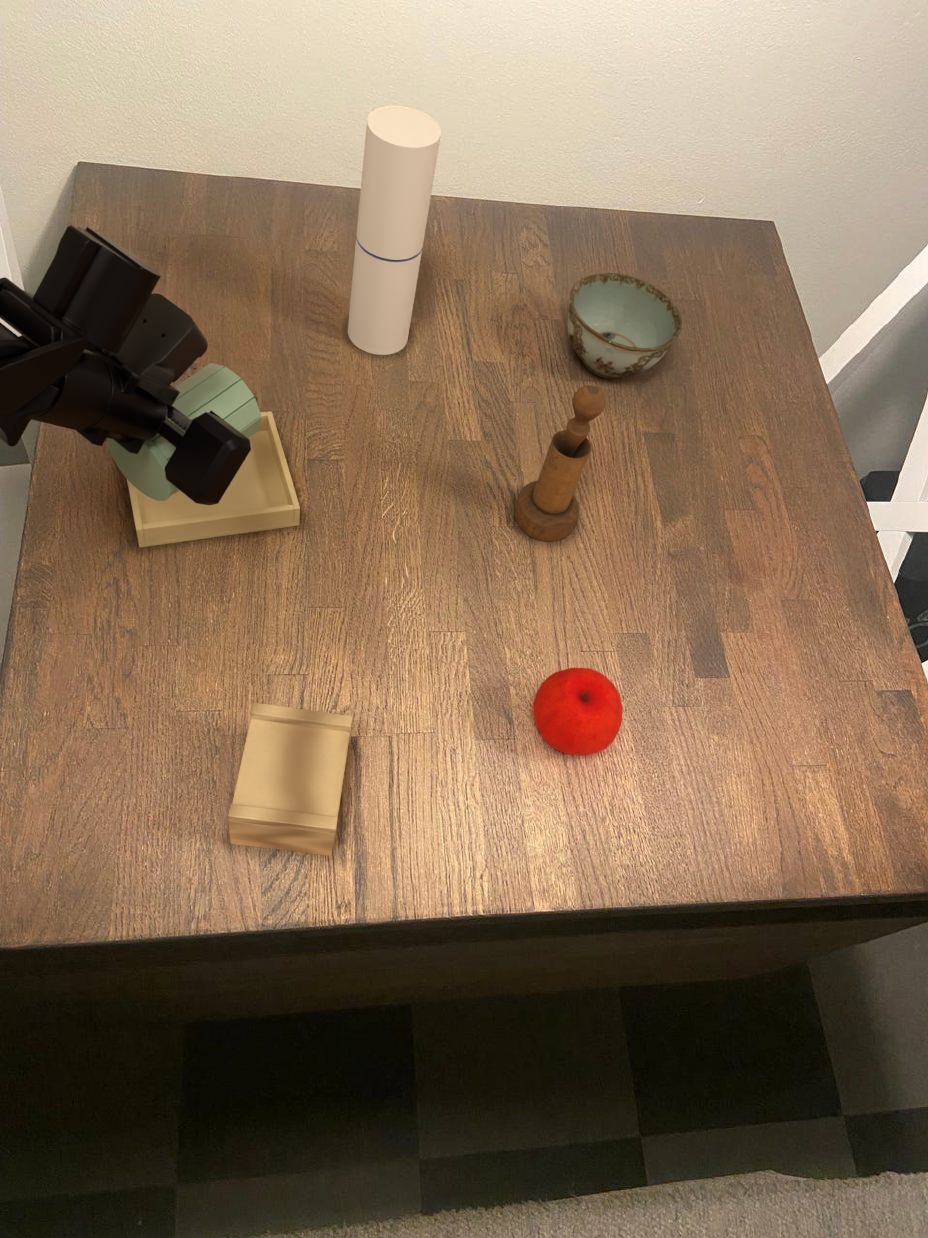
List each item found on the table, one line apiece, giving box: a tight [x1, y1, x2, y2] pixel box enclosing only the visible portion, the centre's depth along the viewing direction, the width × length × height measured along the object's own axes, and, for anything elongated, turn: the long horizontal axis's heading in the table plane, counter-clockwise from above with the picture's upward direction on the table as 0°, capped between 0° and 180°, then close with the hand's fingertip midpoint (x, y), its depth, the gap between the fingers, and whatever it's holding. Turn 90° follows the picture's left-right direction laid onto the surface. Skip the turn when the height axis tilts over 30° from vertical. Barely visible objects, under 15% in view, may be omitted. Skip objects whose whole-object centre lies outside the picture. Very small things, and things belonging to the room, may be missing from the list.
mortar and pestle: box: [513, 384, 606, 543], centre depth 90 cm, size 7×6×18 cm
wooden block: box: [227, 701, 354, 857], centre depth 73 cm, size 8×10×6 cm
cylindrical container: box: [347, 105, 442, 356], centre depth 98 cm, size 7×7×25 cm
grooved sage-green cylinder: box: [106, 362, 261, 501], centre depth 79 cm, size 11×7×7 cm, turn 145°
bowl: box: [566, 272, 683, 379], centre depth 110 cm, size 14×13×8 cm
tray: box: [126, 410, 301, 548], centre depth 90 cm, size 15×13×3 cm
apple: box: [532, 667, 624, 756], centre depth 80 cm, size 8×8×7 cm
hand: (203, 427), depth 80 cm, fingers closed on grooved sage-green cylinder, 7 cm apart
